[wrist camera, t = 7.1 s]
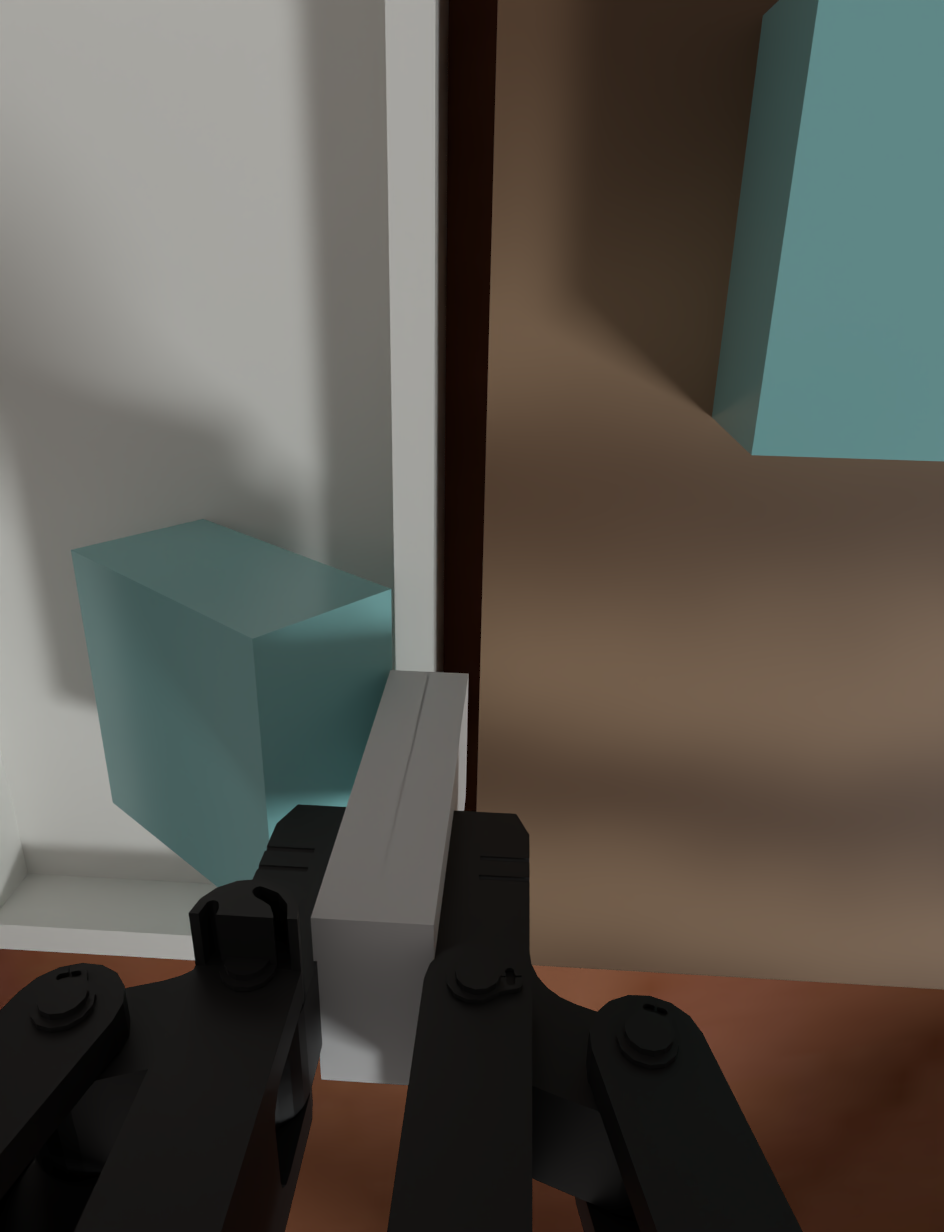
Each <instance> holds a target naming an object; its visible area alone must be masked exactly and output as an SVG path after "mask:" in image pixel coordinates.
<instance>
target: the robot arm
mask: <svg viewBox="0 0 944 1232" xmlns="http://www.w3.org/2000/svg"><path fill="white" fill-rule="evenodd" d="M468 675H469V674H467V673H445V672H422V671H401V670H390V673H389V676H388V679H387V682H386V685H385V688H384V692H383V695H382V698H381V701H380V704H379V707H378V710H377V713H376V716H375V720H374V723H373V726H372V729H371V732H370V735H369V738H368V741H367V744H366V747H365V751H364V754H363V757H362V760H361V763H360V766H359V769H358V772H357V775H356V779H355V782H354V785H353V788H352V791H351V794H350V797H349V800H348V803H347V806H346V807H339V806H320V805H301V804H298V805H297V806H296V807H294V808H293V809H292V810H291V811H290V812H289V813H288V814H287V815H285V816H284V817H283V818H282V819H281V820H280V821H279V822H278V823H277V824H276V826H275V828H274V831H273V833H272V835H271V838H270V840H269V842H268V845H267V850H266V851H264V854H263V856H262V858H261V861H260V863H259V868H258V869H257V870H256V872H255V875H254V877H253V879H252V880H240V881H235V882H232V883H229V884H226V885H223V886H220V887H217V888H215V889H214V890H212V891H211V892H209V893H208V894H206V895H205V896H203V897H202V898H200V899H199V900H198V902H197V903H196V904H195V905H194V907H193V908H192V909H191V910H190V912H189V920H190V927H191V935H192V942H193V949H194V957H195V964H196V966H195V968H194V970H192V971H190V972H188V973H186V974H184V975H182V976H179V977H175V978H172V979H168V980H165V981H160V982H155V983H150V984H145V985H140V986H135V987H129V988H125V986H124V984H123V983H122V981H121V979H120V977H119V976H118V974H117V973H116V972H114V971H113V970H111V969H109V968H107V967H105V966H103V965H97V964H87V963H80V964H75V965H70V966H64V967H59V968H57V969H55V970H53V971H51V972H48V973H46V974H44V975H42V976H39V977H37V978H36V979H35V980H33V981H32V982H31V983H30V984H28V985H27V986H26V987H24V988H23V989H22V990H20V991H19V992H18V993H17V994H16V995H15V996H14V997H13V998H12V999H11V1000H10V1001H9V1002H8V1003H7V1004H6V1005H5V1006H4V1007H3V1008H2V1009H1V1010H0V1232H285V1229H286V1225H287V1220H288V1216H289V1212H290V1208H291V1204H292V1200H293V1196H294V1192H295V1188H296V1184H297V1179H298V1175H299V1171H300V1167H301V1163H302V1159H303V1155H304V1151H305V1147H306V1143H307V1138H308V1134H309V1130H310V1126H311V1122H312V1107H313V1100H312V1083H313V1079H314V1075H315V1072H316V1068H317V1064H318V1060H319V1056H320V1066H321V1079H323V1080H338V1081H352V1082H367V1083H383V1084H398V1085H408V1091H407V1098H406V1105H405V1112H404V1119H403V1126H402V1133H401V1140H400V1147H399V1154H398V1161H397V1168H396V1175H395V1181H394V1188H393V1195H392V1202H391V1209H390V1216H389V1223H388V1230H387V1232H532V1178H533V1179H535V1180H537V1181H540V1182H542V1183H544V1184H547V1185H549V1186H551V1187H554V1188H556V1189H558V1190H561V1191H563V1192H565V1193H568V1194H570V1195H572V1196H575V1199H576V1205H577V1208H578V1212H579V1216H580V1219H581V1223H582V1226H583V1230H584V1232H802V1230H801V1228H800V1226H799V1224H798V1222H797V1220H796V1218H795V1216H794V1214H793V1212H792V1210H791V1208H790V1206H789V1204H788V1202H787V1200H786V1198H785V1196H784V1194H783V1192H782V1190H781V1188H780V1186H779V1184H778V1182H777V1180H776V1178H775V1176H774V1174H773V1172H772V1170H771V1168H770V1166H769V1164H768V1162H767V1160H766V1158H765V1156H764V1154H763V1152H762V1150H761V1148H760V1146H759V1144H758V1142H757V1140H756V1138H755V1136H754V1134H753V1132H752V1130H751V1128H750V1126H749V1124H748V1123H747V1121H746V1119H745V1117H744V1115H743V1113H742V1111H741V1109H740V1107H739V1105H738V1103H737V1101H736V1099H735V1097H734V1095H733V1093H732V1091H731V1089H730V1087H729V1085H728V1083H727V1081H726V1079H725V1077H724V1075H723V1073H722V1071H721V1069H720V1067H719V1065H718V1063H717V1061H716V1059H715V1057H714V1055H713V1053H712V1051H711V1049H710V1047H709V1045H708V1043H707V1041H706V1039H705V1037H704V1035H703V1033H702V1032H701V1031H700V1029H699V1028H698V1027H697V1025H696V1024H695V1023H694V1021H693V1020H692V1019H691V1017H690V1016H689V1015H687V1014H686V1013H685V1012H683V1011H682V1010H680V1009H679V1008H677V1007H676V1006H674V1005H673V1004H672V1003H669V1002H666V1001H663V1000H660V999H657V998H654V997H652V996H638V995H627V996H624V997H621V998H618V999H615V1000H611V1001H609V1002H608V1003H607V1004H605V1005H604V1006H603V1007H602V1008H601V1009H600V1010H599V1011H598V1012H596V1011H593V1010H590V1009H588V1008H585V1007H582V1006H579V1005H576V1004H574V1003H572V1002H569V1001H567V1000H565V999H563V998H561V997H559V996H558V995H556V994H555V993H554V992H552V991H551V990H550V989H548V988H547V987H546V986H545V985H544V983H543V982H542V981H541V980H540V979H539V978H538V977H537V975H536V972H535V970H534V968H533V966H532V964H531V958H530V882H529V879H530V863H529V859H530V846H529V833H528V832H527V830H526V829H525V827H524V825H523V824H522V822H521V820H520V819H519V817H518V816H517V814H511V813H492V812H473V811H464V807H465V798H466V766H467V720H468Z"/></svg>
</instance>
